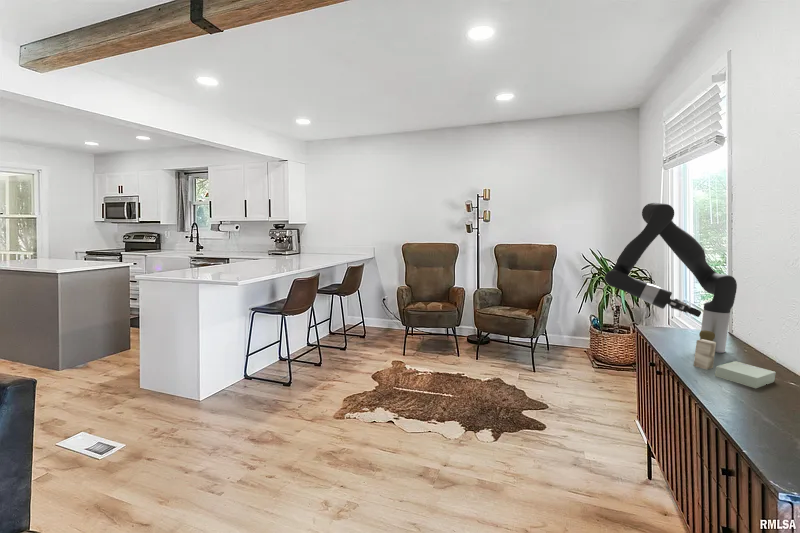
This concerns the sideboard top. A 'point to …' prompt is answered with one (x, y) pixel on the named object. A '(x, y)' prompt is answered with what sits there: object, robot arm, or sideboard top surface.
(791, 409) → the sideboard top surface
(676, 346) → the sideboard top surface
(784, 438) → the sideboard top surface
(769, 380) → the sage block
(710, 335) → the brown rounded piece
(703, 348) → the maple block
